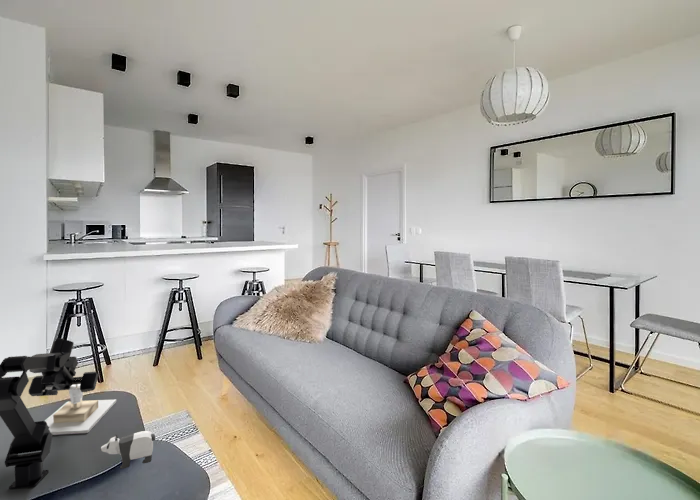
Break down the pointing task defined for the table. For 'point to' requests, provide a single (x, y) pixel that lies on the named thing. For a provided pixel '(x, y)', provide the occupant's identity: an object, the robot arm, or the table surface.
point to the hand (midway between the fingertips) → (72, 392)
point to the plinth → (75, 412)
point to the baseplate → (80, 426)
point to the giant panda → (131, 447)
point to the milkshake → (75, 396)
